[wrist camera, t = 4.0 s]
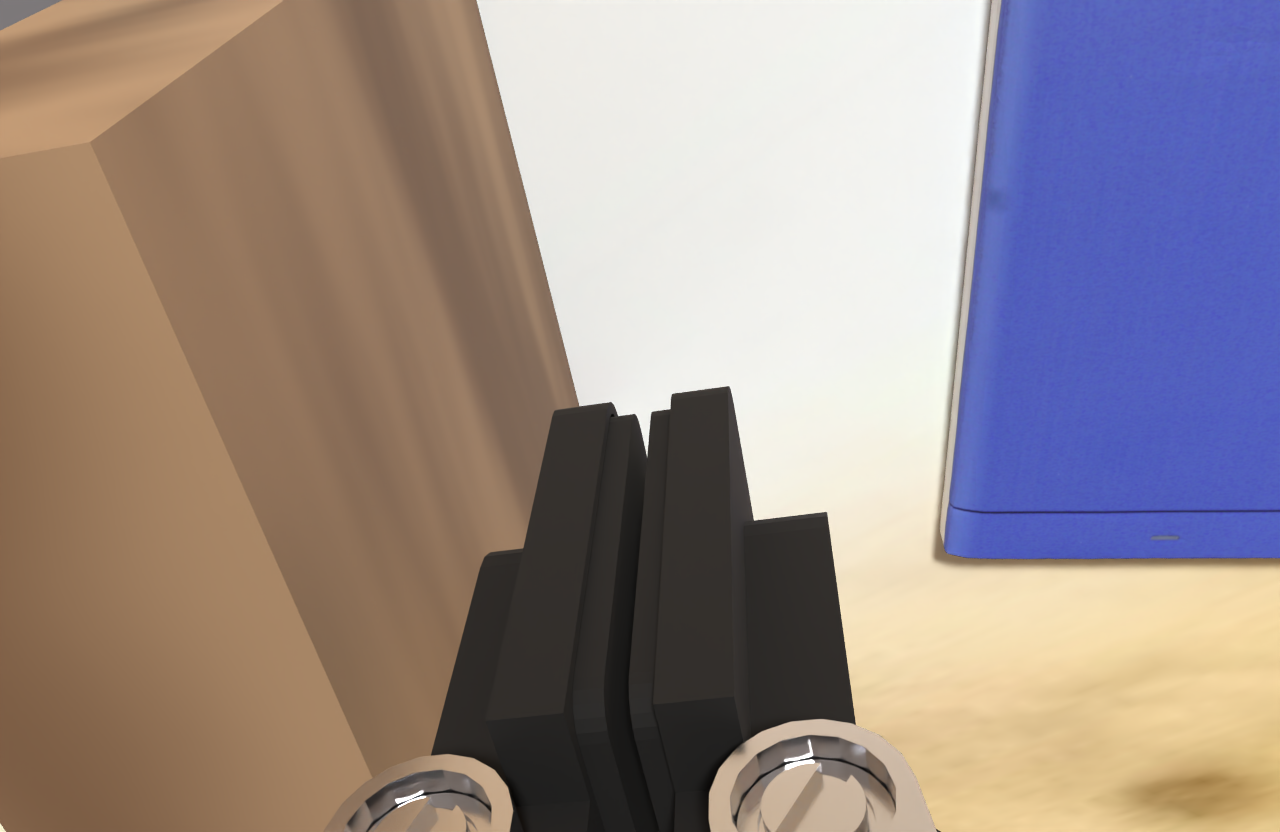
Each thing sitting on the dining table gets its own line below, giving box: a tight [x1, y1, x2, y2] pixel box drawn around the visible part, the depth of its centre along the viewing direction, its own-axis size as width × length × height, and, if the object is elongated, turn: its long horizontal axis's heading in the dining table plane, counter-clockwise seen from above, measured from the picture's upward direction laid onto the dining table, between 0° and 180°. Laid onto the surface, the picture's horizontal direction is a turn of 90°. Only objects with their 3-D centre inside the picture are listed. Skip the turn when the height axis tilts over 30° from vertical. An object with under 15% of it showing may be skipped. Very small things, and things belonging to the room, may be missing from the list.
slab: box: [0, 0, 579, 832], centre depth 16 cm, size 4×10×12 cm, turn 11°
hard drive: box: [940, 0, 1280, 559], centre depth 20 cm, size 2×8×12 cm
